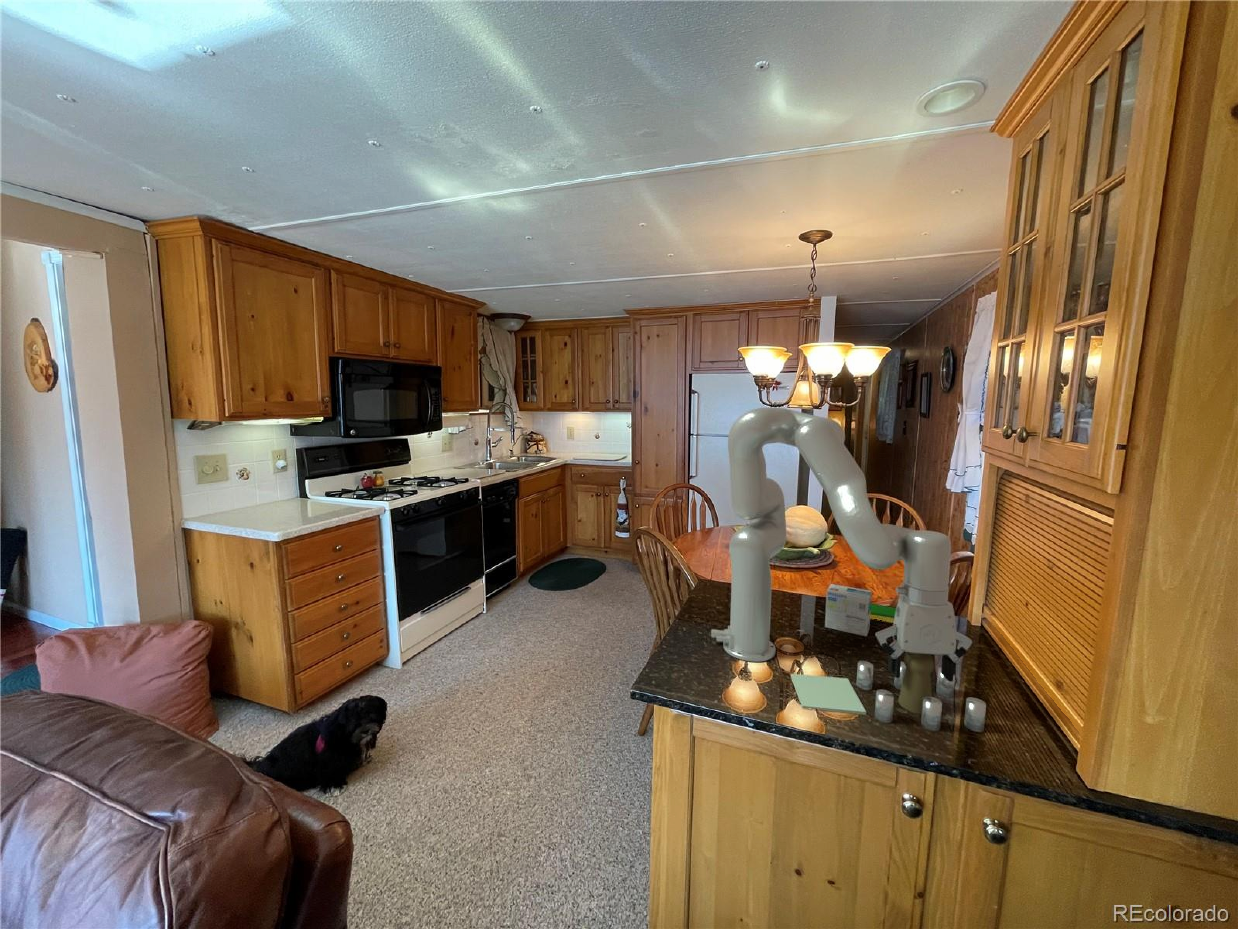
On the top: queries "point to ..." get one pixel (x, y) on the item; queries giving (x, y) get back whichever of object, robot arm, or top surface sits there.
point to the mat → (827, 694)
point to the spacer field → (930, 704)
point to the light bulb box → (848, 609)
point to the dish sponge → (882, 613)
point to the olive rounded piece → (916, 681)
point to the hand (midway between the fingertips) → (920, 676)
